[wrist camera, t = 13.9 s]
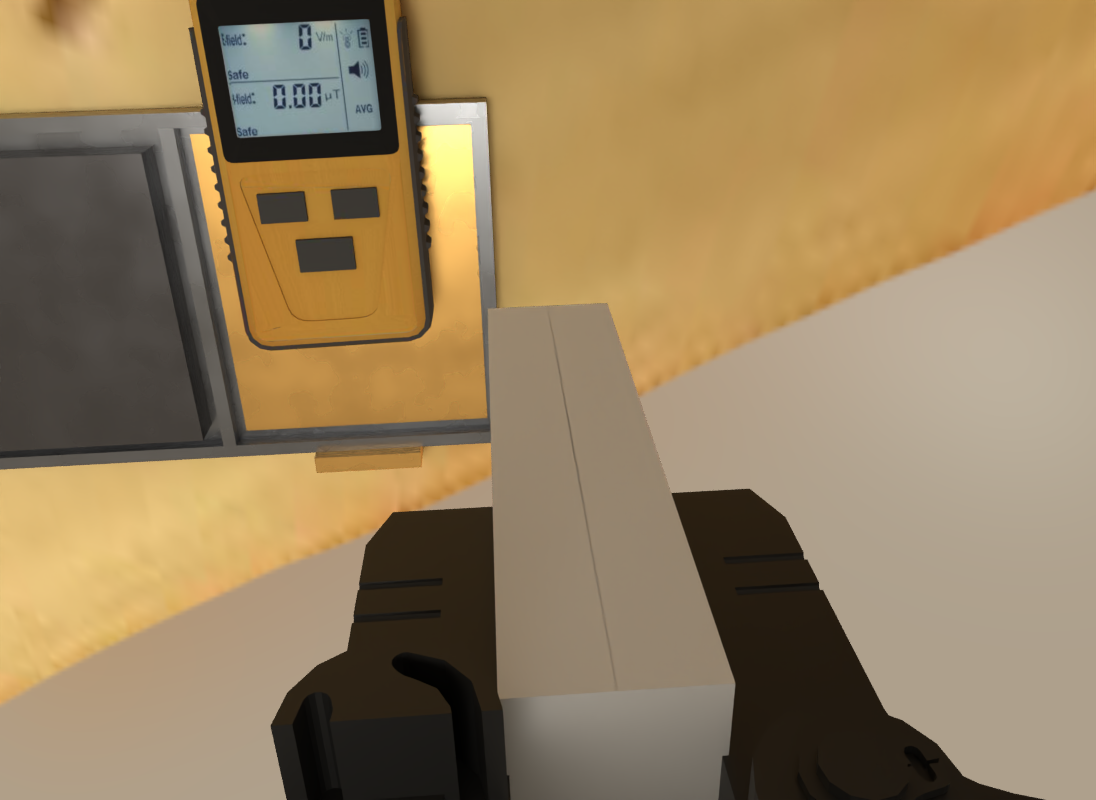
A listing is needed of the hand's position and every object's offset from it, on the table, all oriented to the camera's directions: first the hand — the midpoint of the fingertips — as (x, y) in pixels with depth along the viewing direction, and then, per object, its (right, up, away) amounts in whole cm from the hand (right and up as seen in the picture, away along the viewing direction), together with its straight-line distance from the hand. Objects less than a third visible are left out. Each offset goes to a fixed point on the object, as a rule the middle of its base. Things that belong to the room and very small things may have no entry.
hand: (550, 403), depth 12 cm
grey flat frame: (-15, +5, +30) cm, 34 cm away
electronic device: (-9, +5, +32) cm, 33 cm away
